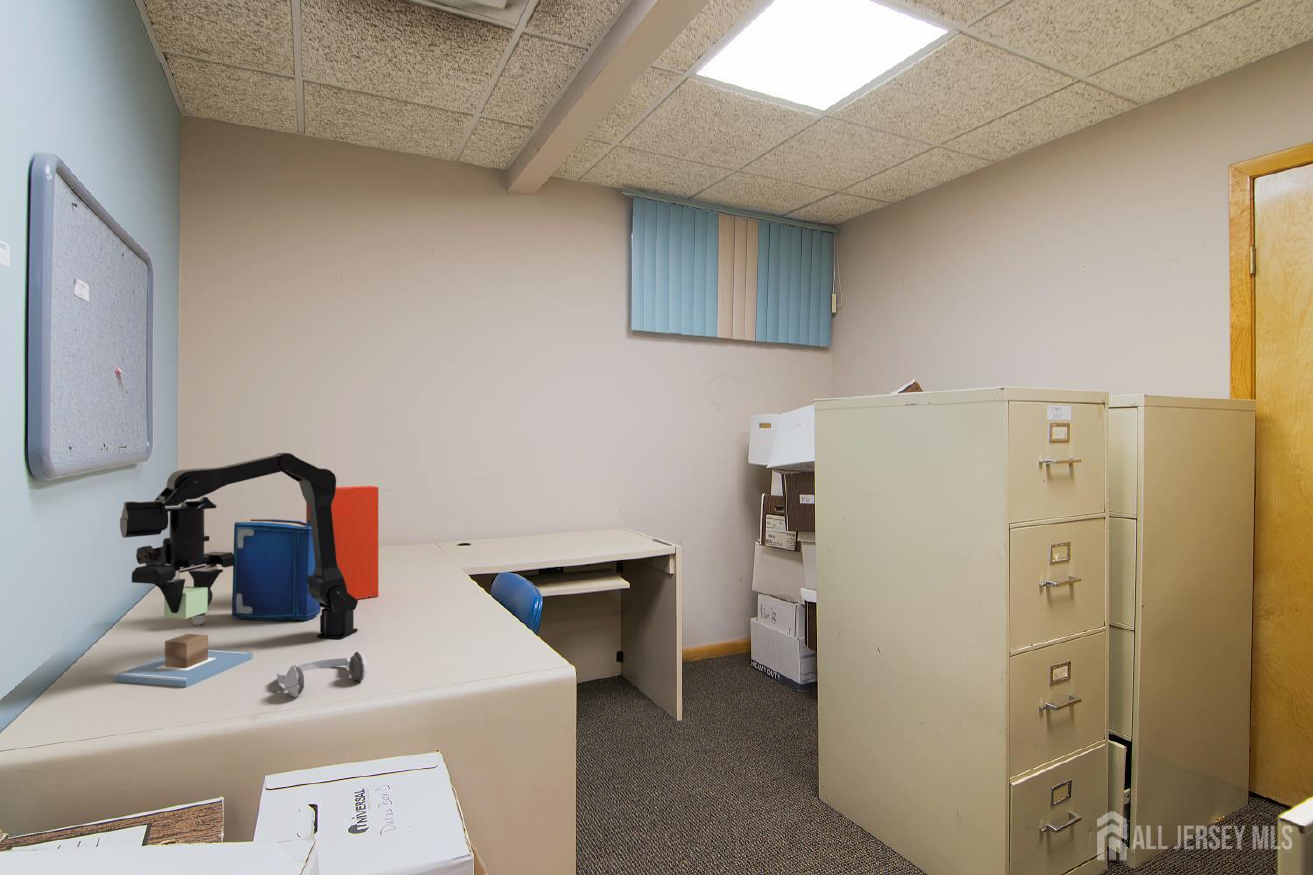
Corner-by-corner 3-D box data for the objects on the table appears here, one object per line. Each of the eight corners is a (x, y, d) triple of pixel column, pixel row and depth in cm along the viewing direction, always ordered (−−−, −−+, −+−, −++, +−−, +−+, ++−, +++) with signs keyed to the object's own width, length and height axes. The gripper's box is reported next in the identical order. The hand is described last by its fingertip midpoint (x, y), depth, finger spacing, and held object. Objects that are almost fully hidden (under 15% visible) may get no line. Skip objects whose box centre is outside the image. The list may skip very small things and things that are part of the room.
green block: (207, 611, 134) (207, 587, 134) (185, 618, 129) (186, 593, 129) (186, 610, 135) (186, 586, 135) (164, 617, 130) (164, 591, 130)
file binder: (306, 600, 185) (306, 488, 185) (369, 591, 196) (369, 485, 196) (313, 606, 179) (313, 490, 179) (378, 596, 190) (378, 487, 190)
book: (326, 615, 171) (326, 519, 171) (309, 622, 164) (310, 523, 164) (249, 612, 173) (249, 518, 173) (229, 619, 166) (229, 522, 166)
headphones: (381, 684, 122) (347, 672, 137) (380, 652, 123) (345, 644, 138) (277, 710, 111) (251, 694, 125) (275, 675, 111) (250, 663, 126)
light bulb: (180, 629, 158) (180, 588, 158) (190, 623, 163) (190, 583, 163) (207, 628, 159) (207, 587, 159) (216, 621, 165) (216, 582, 165)
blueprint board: (252, 658, 138) (252, 652, 138) (186, 687, 123) (186, 680, 123) (187, 653, 141) (187, 647, 141) (114, 681, 125) (114, 674, 125)
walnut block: (208, 659, 134) (208, 634, 134) (186, 667, 129) (186, 642, 129) (186, 657, 135) (187, 633, 135) (164, 666, 130) (164, 641, 130)
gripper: (193, 524, 142) (192, 596, 142) (107, 537, 124) (106, 619, 124) (237, 526, 140) (237, 598, 141) (157, 539, 122) (156, 623, 122)
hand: (186, 609), depth 132 cm, fingers closed on green block, 5 cm apart
